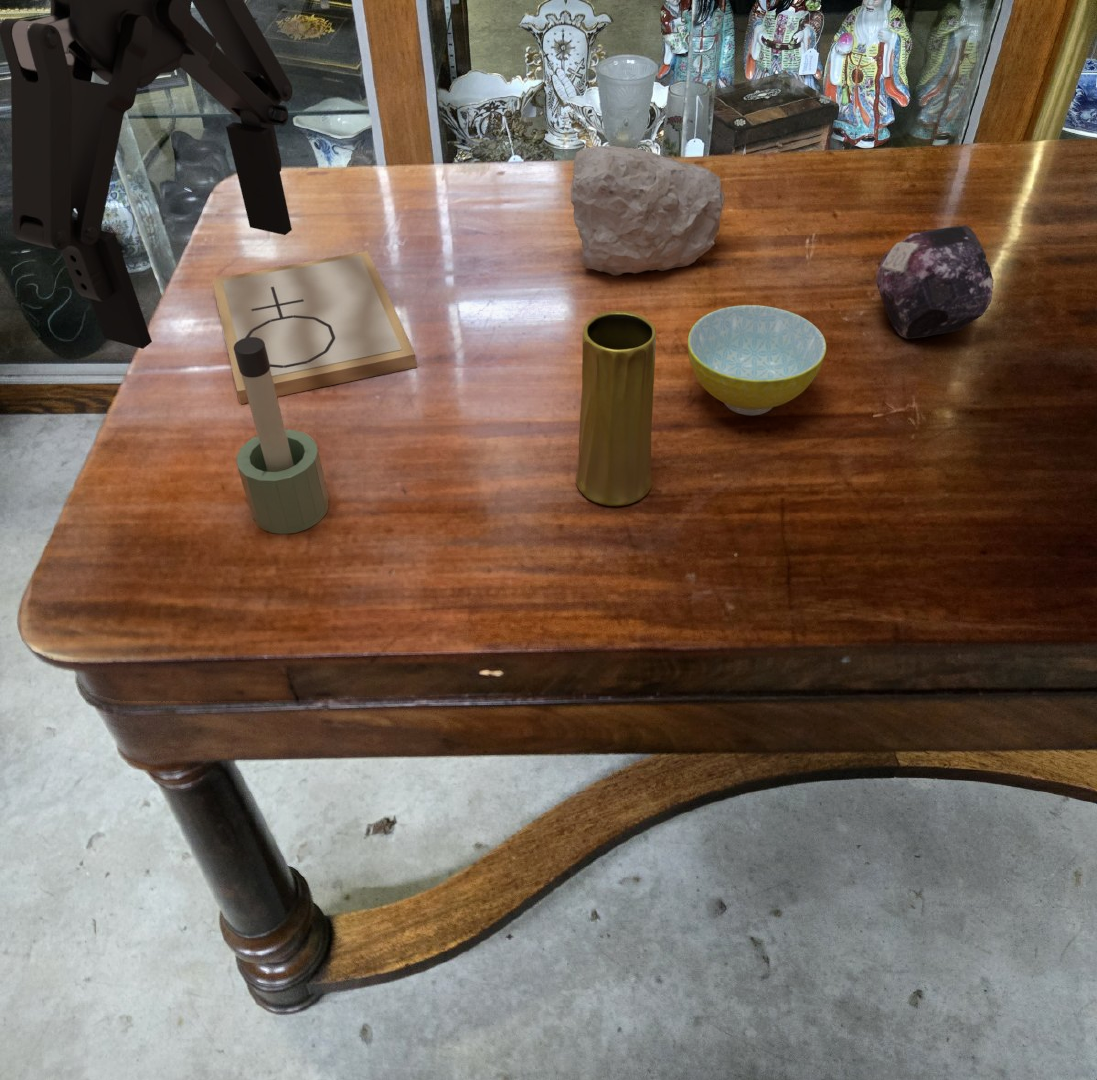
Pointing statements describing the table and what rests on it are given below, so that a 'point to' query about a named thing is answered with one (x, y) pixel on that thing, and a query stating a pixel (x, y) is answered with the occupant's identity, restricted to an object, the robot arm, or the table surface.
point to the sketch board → (315, 322)
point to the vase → (616, 408)
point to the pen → (263, 403)
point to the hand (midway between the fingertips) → (204, 281)
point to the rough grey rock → (642, 209)
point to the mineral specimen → (935, 282)
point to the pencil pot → (284, 486)
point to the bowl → (755, 356)
